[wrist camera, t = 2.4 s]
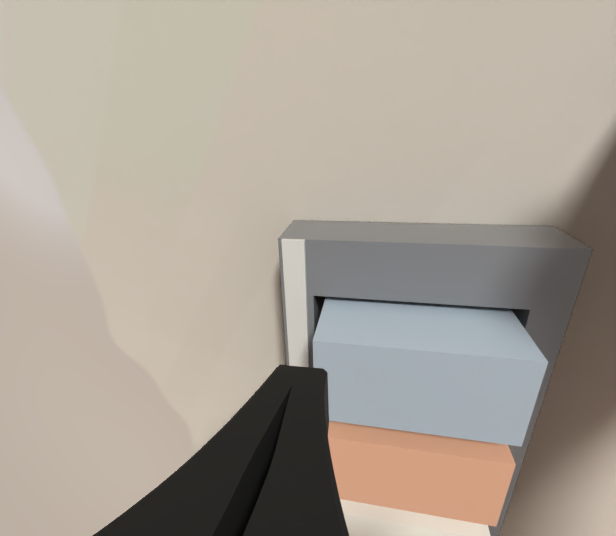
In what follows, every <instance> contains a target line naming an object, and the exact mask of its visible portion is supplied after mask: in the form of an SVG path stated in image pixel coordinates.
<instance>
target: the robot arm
mask: <svg viewBox="0 0 616 536" xmlns="http://www.w3.org/2000/svg"><path fill="white" fill-rule="evenodd" d="M328 428H329V403H328V373H327V372H326V371H325V370H324V369H323V368H311V367H300V366H289V365H279V366H278V367H277V368H276V369H275V370H274V372H273V373H272V374H271V375H270V376H269V377H268V379H267V380H266V381H265V382H264V383H263V384H262V386H261V387H260V388H259V389H258V390H257V391H256V392H255V394H254V395H253V396H252V397H251V398H250V399H249V400H248V401H247V402H246V404H245V405H244V406H243V407H242V408H241V409H240V410H239V411H238V412H237V413H236V414H235V415H234V416H233V417H232V418H231V420H230V421H229V422H228V423H227V424H226V425H225V426H224V427H223V428H222V429H221V430H220V431H219V432H218V433H217V434H215V435H214V436H213V437H212V438H211V439H210V440H209V441H208V442H207V443H206V444H205V445H204V446H203V447H202V448H201V449H200V450H199V451H198V452H197V453H196V454H195V455H194V456H192V457H191V458H190V459H189V460H188V461H187V462H186V463H185V464H184V465H183V466H181V467H180V468H179V469H178V470H177V471H175V472H174V473H173V474H172V475H171V476H170V477H169V478H167V479H166V480H165V481H164V482H162V483H161V484H160V485H159V486H158V487H157V488H155V489H154V490H153V491H151V492H150V493H149V494H148V495H146V496H145V497H144V498H142V499H141V500H140V501H139V502H137V503H136V504H135V505H133V506H132V507H131V508H130V509H128V510H127V511H126V512H125V513H123V514H122V515H120V516H119V517H118V518H116V519H115V520H114V521H112V522H111V523H110V524H108V525H107V526H106V527H104V528H103V529H102V530H100V531H99V532H97V533H96V534H94V535H93V536H349V533H348V529H347V525H346V522H345V518H344V514H343V510H342V506H341V502H340V497H339V493H338V489H337V484H336V479H335V475H334V469H333V464H332V459H331V453H330V447H329V441H328Z"/></svg>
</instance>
